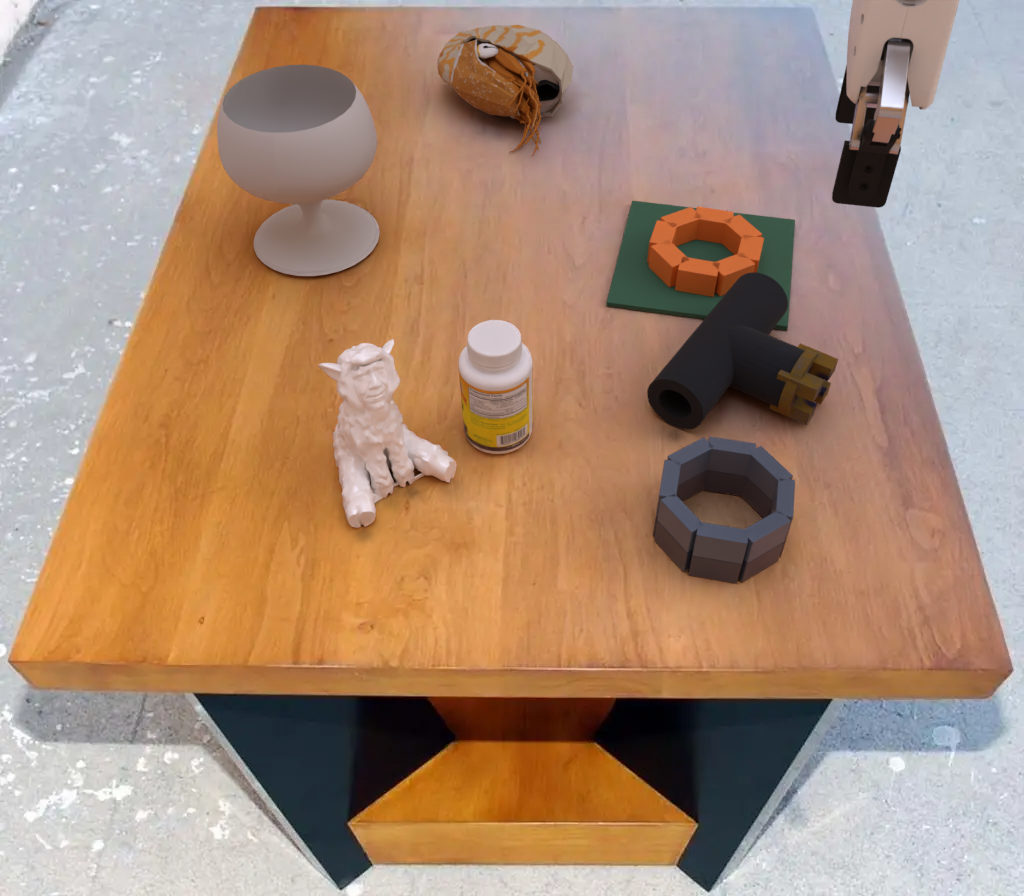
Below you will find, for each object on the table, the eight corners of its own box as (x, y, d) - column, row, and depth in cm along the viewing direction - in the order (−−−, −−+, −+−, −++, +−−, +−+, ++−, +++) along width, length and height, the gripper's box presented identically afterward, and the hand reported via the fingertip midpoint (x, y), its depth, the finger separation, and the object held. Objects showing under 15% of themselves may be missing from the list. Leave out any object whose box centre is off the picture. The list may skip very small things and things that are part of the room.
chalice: (369, 292, 92) (347, 147, 81) (224, 279, 94) (182, 134, 83) (403, 203, 102) (387, 62, 90) (271, 193, 103) (239, 53, 92)
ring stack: (784, 491, 76) (796, 449, 73) (778, 591, 70) (791, 550, 67) (663, 472, 78) (669, 429, 74) (647, 568, 72) (653, 527, 68)
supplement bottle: (481, 399, 83) (476, 303, 75) (543, 418, 81) (544, 323, 74) (451, 445, 80) (443, 350, 72) (515, 466, 78) (513, 371, 70)
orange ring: (764, 238, 96) (768, 217, 94) (749, 303, 90) (754, 282, 88) (661, 221, 98) (663, 200, 96) (639, 284, 92) (641, 263, 90)
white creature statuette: (355, 537, 74) (330, 425, 65) (299, 465, 79) (269, 352, 70) (461, 477, 77) (452, 364, 69) (402, 413, 82) (386, 299, 73)
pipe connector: (867, 313, 81) (786, 430, 73) (852, 359, 85) (774, 475, 77) (738, 262, 85) (649, 368, 78) (730, 309, 90) (644, 414, 82)
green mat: (794, 223, 98) (795, 219, 98) (786, 330, 88) (788, 326, 88) (631, 204, 101) (632, 200, 101) (606, 306, 91) (606, 302, 90)
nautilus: (587, 168, 106) (445, 182, 106) (566, 57, 119) (440, 69, 119) (586, 102, 100) (436, 116, 100) (564, -7, 113) (432, 5, 113)
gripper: (1022, -59, 47) (922, 245, 59) (992, -177, 58) (914, 100, 71) (855, -69, 48) (792, 231, 61) (857, -182, 59) (804, 91, 72)
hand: (858, 160), depth 66 cm, fingers open, 9 cm apart
